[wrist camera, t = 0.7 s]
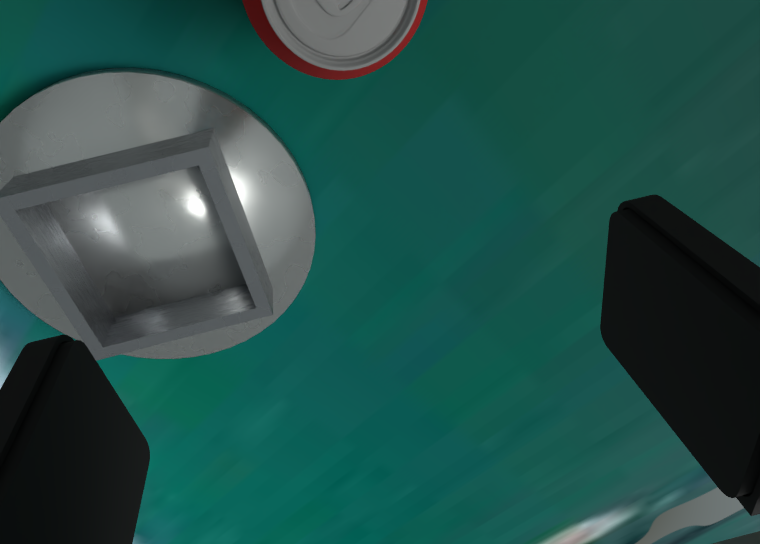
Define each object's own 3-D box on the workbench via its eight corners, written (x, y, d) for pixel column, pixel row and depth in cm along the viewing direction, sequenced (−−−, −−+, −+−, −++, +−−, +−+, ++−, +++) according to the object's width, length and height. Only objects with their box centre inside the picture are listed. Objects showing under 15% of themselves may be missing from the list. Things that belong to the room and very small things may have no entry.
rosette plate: (-99, 115, 28) (-151, 143, 25) (262, 30, 29) (262, 45, 25) (82, 375, 39) (63, 421, 35) (343, 308, 39) (350, 346, 36)
